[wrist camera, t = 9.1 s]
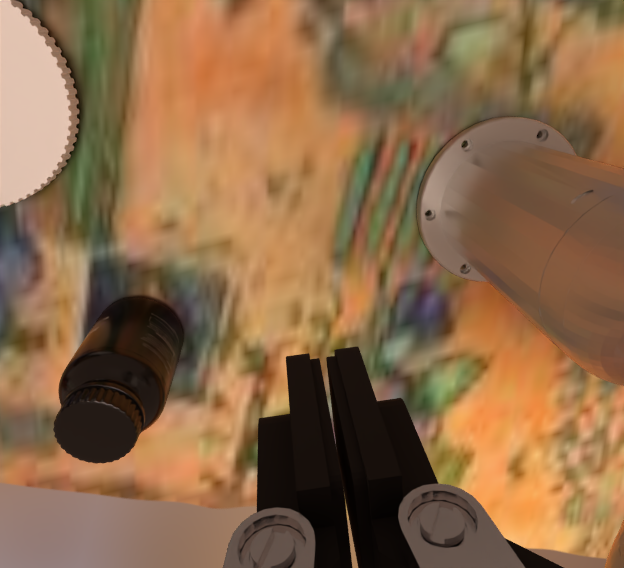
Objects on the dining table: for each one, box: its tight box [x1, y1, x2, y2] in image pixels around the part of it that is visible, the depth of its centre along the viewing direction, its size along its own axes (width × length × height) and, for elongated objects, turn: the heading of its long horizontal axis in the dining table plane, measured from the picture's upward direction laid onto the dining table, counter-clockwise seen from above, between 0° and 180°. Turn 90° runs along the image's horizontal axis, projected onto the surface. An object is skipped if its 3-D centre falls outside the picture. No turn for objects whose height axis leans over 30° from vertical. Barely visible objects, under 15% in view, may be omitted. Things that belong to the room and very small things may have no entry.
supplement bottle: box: [53, 297, 183, 463], centre depth 35 cm, size 7×7×12 cm
